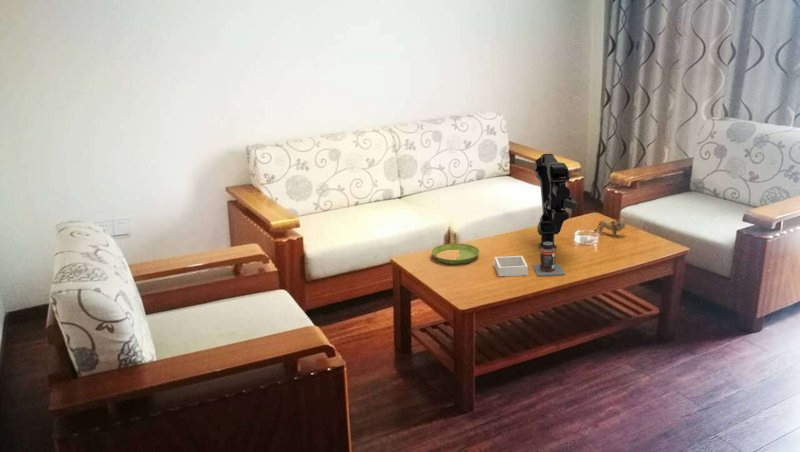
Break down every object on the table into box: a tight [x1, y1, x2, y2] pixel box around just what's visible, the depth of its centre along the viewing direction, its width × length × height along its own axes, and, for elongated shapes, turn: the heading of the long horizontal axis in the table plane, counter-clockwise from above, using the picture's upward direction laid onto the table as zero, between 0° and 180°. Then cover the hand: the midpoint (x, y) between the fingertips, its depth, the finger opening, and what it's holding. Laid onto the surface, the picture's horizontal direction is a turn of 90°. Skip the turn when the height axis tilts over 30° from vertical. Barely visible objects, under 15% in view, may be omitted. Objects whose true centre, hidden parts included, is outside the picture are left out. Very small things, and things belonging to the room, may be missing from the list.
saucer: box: [431, 243, 480, 265], centre depth 290 cm, size 21×21×3 cm
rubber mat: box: [531, 263, 566, 277], centre depth 271 cm, size 11×11×1 cm
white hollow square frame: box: [494, 255, 529, 278], centre depth 273 cm, size 12×12×4 cm
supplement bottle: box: [539, 242, 556, 271], centre depth 270 cm, size 6×6×11 cm
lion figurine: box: [594, 217, 627, 239], centre depth 307 cm, size 15×5×9 cm, turn 51°
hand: (555, 228), depth 280 cm, fingers open, 9 cm apart
